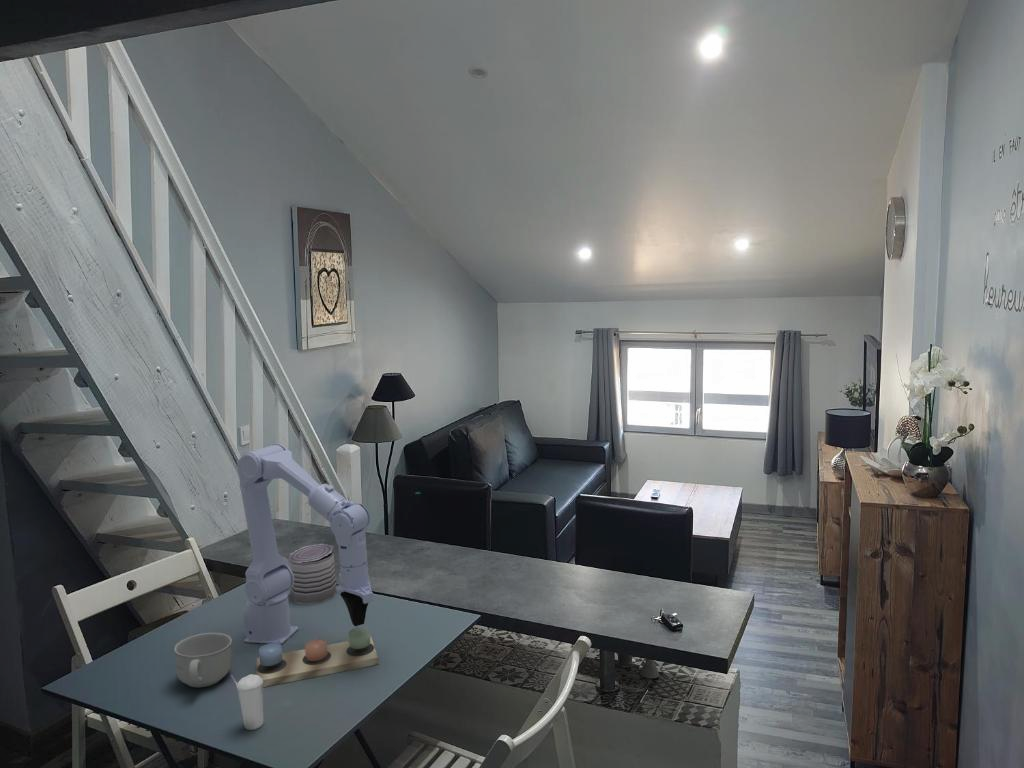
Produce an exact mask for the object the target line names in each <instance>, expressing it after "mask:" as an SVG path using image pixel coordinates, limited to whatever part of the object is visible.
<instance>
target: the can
mask: <svg viewBox="0 0 1024 768" xmlns="http://www.w3.org/2000/svg"><path fill="white" fill-rule="evenodd" d="M333 549H334V545H330V544H326V543H317V544H312V545H305V546H303V547H300V548H299V549H296V550H294V551H292V552H291V553H289V555H288V557H287V559H288V563H289V567H290V569H291V570H292V572H293V575H294V584H293V586H292V588H291V589H290V594H291V600H292V601H293V602H294V603H295V604H297V605H298V604H299V605H305V606H310V605H311V606H312V605H317V604H322V603H326V602H327V601H330V600H333V598H334V597H335V596H336V594H337V593H338V591H337V590H336V586H337V578H336V567H335V566H336V565H335V564H336V563H335V554H334V553H335V552H334V551H333Z"/></svg>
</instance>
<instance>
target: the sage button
mask: <svg viewBox="0 0 1024 768" xmlns="http://www.w3.org/2000/svg"><path fill="white" fill-rule="evenodd" d="M370 637H371V633H370V628H368V627H364V626H359V627H358V626H356V627H354V628H352V629H350V630H349V631H348V641H349V646H350V647H351V648H353V649H361V648H365V647H367V646H368V645H369V644H370Z"/></svg>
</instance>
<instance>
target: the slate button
mask: <svg viewBox="0 0 1024 768" xmlns="http://www.w3.org/2000/svg"><path fill="white" fill-rule="evenodd" d="M282 653H283V649H282V644H279V643H270V644H268V643H265V644H264V645H261V646H260V647H259V649H258V656H259V657H258V658H260V664H261V665H263V666H272V665H275V664H278V663H279V662H281V661H282Z"/></svg>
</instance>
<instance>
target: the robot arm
mask: <svg viewBox="0 0 1024 768" xmlns="http://www.w3.org/2000/svg"><path fill="white" fill-rule="evenodd" d="M293 455H294V454H293V452H292V451H291V450H290V449H288V448H287V447H286V446H285V445H283V444H282V443H273V444H272V445H268V446H266V447H263V448H258V449H255V450H251V451H246V452H244V453H243V454H241V456H240V457H239V459H238V460H237V462H236V466H237V472H238V477H239V488H240V494H241V498H242V505H243V510H244V514H245V521H246V526H247V531H248V536H249V542H250V547H251V554H252V558H253V560H252V561H251V563H250V565H249V567H248V568H247V569H246V571H245V583H244V584H245V585H244V590H245V595H246V598H248V600H247V601H246V602H245V605H244V609H243V620H244V621H243V624H244V630H245V631H244V632H245V638H244V639H243V641H244V643H252V644H253V643H254V644H270V643H279V644H281V645H283V644H284V643H285V642H286V641H287V640H288V639H289V638H290V637H291V636H293V635H294V634H295V632H296V631H298V630H299V626H297V625H296V626H295V625H291V616H290V614H291V613H290V605H289V595H290V594H291V588H292V586H293V584H294V575H293V572H292V570H291V569H290V567H289V561H288V558H286V557H284V556H282V555H280V553H279V550H278V544H277V538H276V533H275V527H274V521H273V516H272V510H271V505H270V498H269V493H268V487H269V485H270V484H271V482H273V480H276V479H282V480H283V481H284V482H285V483H288V484H289V485H290V486H291V487H293V488H295V489H296V490H297V491H298V492H300V493H302V494H303V495H305V496H306V497H307V499H308V506H309V507H311V508H312V509H313V510H314V511H316V512H317V513H318V514H319V515H320V516H322V517H323V518H324V519H325V520H326V521H328V522H329V527H330V529H331V532H332V533H333V535H334V538H335V543H336V544H337V546H338V547H337V548H338V559H339V561H338V562H339V571H340V572H339V573H338V579H339V583H340V584H338V585H337V584H336V590H337V592H340V593H339V594H340V597H341V598H342V600H343V601H344V603H345V606H346V608H347V611H348V614H349V617H350V620H351V623H352V625H353V626H354V627H358V626H359V627H360V626H362V625H365V621H366V615H367V611H368V606H369V603H373V602H374V593H373V591H372V588H371V581H370V577H369V566H368V565H369V564H368V552H367V538H366V528H368V526H369V525H370V523H371V515H370V512H369V510H368V509H367V508H366V506H365V505H364V504H363V503H361V502H354V501H351V500H349V499H347V498H345V497H344V496H343V495H342V494H340V493H339V492H338V491H337V490H335V487H334V486H333V485H332V484H327V483H322V484H319V483H318V482H317V481H316V480H315V478H313V477H312V476H311V475H310V474H309V473H308V472H307V471H306V470H305V469H304V468H303V467H301V466H300V465H299V463H297V462H296V461H295V460H294V456H293Z"/></svg>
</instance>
